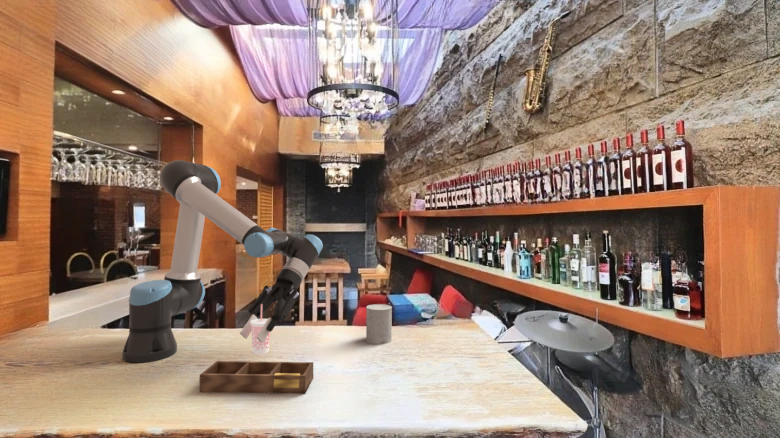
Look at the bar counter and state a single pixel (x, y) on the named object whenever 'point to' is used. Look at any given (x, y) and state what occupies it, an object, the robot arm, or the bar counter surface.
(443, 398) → the bar counter surface
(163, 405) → the bar counter surface
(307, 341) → the bar counter surface
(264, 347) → the beverage cup
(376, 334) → the gray concrete cylinder
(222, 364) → the brown wooden compartment tray
